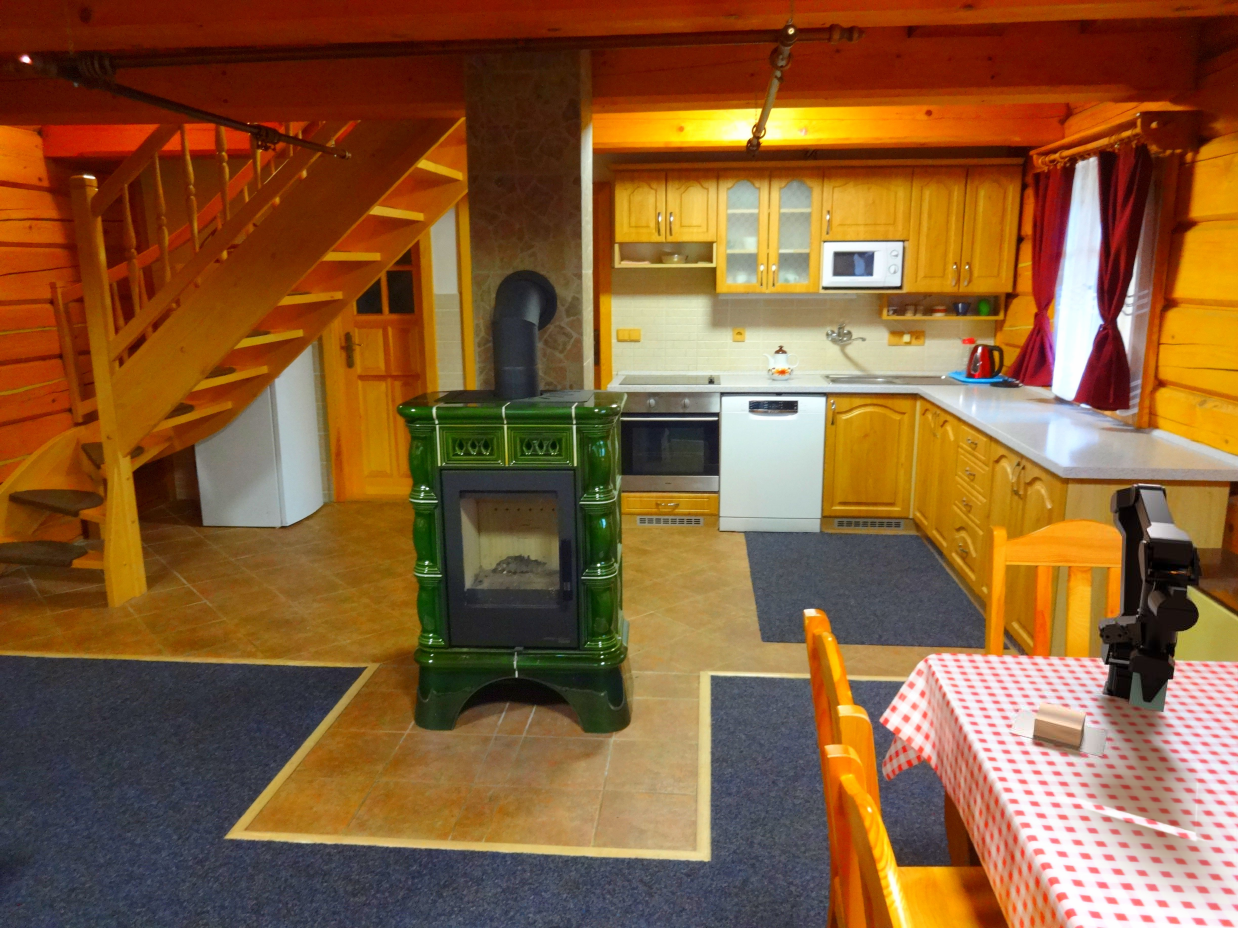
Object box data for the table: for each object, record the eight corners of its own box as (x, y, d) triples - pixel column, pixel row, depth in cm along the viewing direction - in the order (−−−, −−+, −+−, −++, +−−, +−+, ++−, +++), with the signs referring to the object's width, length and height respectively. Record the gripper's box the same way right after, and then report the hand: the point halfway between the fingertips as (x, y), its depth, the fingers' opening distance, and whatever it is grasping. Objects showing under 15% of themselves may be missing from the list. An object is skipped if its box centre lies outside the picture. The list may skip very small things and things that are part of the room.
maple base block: (1039, 717, 155) (1041, 701, 154) (1084, 728, 151) (1085, 712, 150) (1033, 734, 149) (1034, 718, 148) (1078, 746, 145) (1080, 729, 144)
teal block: (1131, 692, 152) (1135, 660, 151) (1164, 700, 149) (1169, 667, 148) (1128, 704, 148) (1133, 671, 147) (1163, 712, 145) (1168, 678, 144)
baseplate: (1019, 711, 158) (1020, 708, 158) (1107, 733, 150) (1107, 730, 150) (1009, 735, 150) (1009, 732, 150) (1101, 759, 142) (1101, 756, 142)
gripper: (1109, 584, 157) (1100, 664, 160) (1099, 616, 142) (1088, 704, 145) (1183, 596, 151) (1171, 679, 154) (1179, 631, 136) (1166, 723, 139)
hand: (1147, 695), depth 148 cm, fingers closed on teal block, 5 cm apart
